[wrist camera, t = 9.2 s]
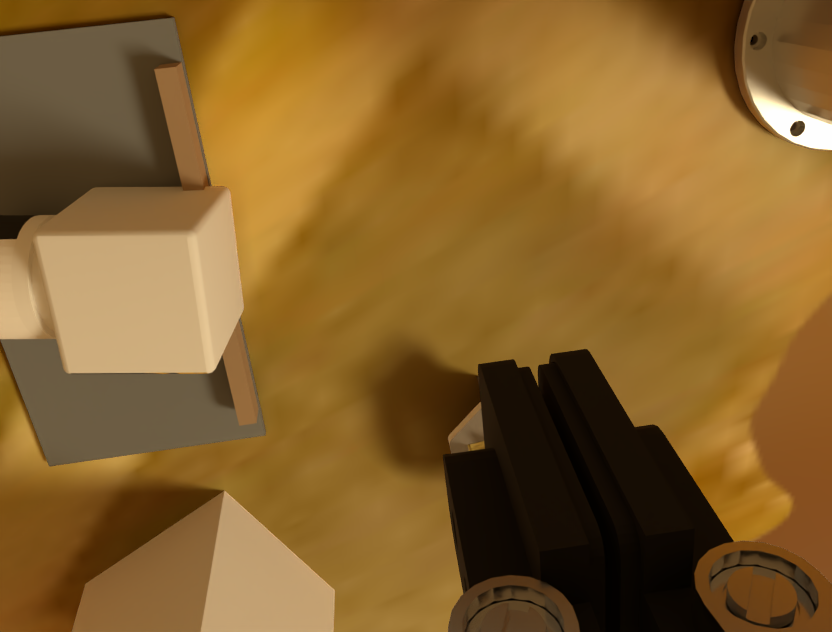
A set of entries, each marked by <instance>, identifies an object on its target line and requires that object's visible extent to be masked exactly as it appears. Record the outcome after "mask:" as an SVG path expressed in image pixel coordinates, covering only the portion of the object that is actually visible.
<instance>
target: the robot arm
mask: <svg viewBox="0 0 832 632" xmlns="http://www.w3.org/2000/svg"><path fill="white" fill-rule="evenodd" d="M752 36H753V38H754V39H753V42H752V43H751V44H750V41H751V38H752ZM734 54H735V72H736V76H737V80H738V84H739V89H740V92H741V94H742V96H743V98H744V100H745V103H746V105H747V107H748V109H749V110H750V112H751V113H752V114H753V115H754V117H755V118H756V119H757V120H758V122H759V123H760V124H761V125H762V126H763V127H764V128H766V129H767V130H768V131H770V132H771V133H772V134H774V135H775V136H776V137H779V138H781V139H783V140H785V141H787V142H789V143H792V144H795V145H798V146H801V147H804V148H808V149H812V150H825V151H832V0H744V3H743V6H742V9H741V13H740V16H739V19H738V23H737V30H736V38H735V45H734ZM791 125H792V126H791ZM478 377H479V388H480V400H481V411H482V422H483V434H484V445H485V449H480V450H473V451H466V452H459V453H452V454H445V455H443V461H444V470H445V479H446V487H447V495H448V503H449V511H450V518H451V524H452V531H453V537H454V543H455V549H456V555H457V560H458V566H459V571H460V577H461V582H462V588H463V595H462V596H461V597H460V598H459V600H458V602H457V603H456V605H455V606H454V608H453V609H452V612H451V617H450V621H449V626H448V632H832V584H831V583H830V582H829V581H828V580H827V579H826V578H825V576H823V574H821V572H820V571H818V570H817V569H816V568H815V567H814V566H812V565H811V564H810V563H809V562H807V561H806V560H805V559H803V558H802V557H800V556H798V555H796V554H794V553H792V552H790V551H788V550H786V549H784V548H781V547H778V546H774V545H770V544H767V543H763V542H752V541H738V542H734V541H733V540H732V538H731V536H730V535H729V533H728V532H727V530H726V529H725V527H724V526H723V524H722V523H721V521H720V520H719V518H718V516H717V515H716V513H715V512H714V510H713V509H712V507H711V506H710V504H709V503H708V501H707V500H706V498H705V496H704V495H703V493H702V492H701V490H700V489H699V487H698V486H697V484H696V483H695V481H694V480H693V478H692V476H691V475H690V473H689V472H688V470H687V469H686V467H685V466H684V464H683V463H682V461H681V460H680V458H679V456H678V455H677V453H676V452H675V450H674V449H673V447H672V446H671V444H670V443H669V441H668V440H667V438H666V436H665V435H664V433H663V432H662V431H661V430H660V428H659V427H658V426H655V425H647V426H640V427H634V425H633V424H632V422H631V420H630V419H629V417H628V415H627V414H626V412H625V410H624V409H623V407H622V405H621V404H620V402H619V400H618V399H617V397H616V395H615V394H614V392H613V390H612V389H611V387H610V385H609V384H608V382H607V380H606V379H605V377H604V375H603V374H602V372H601V370H600V369H599V367H598V365H597V364H596V362H595V360H594V359H593V357H592V355H591V354H590V352H589V351H588V350H587V349H583V350H576V351H569V352H562V353H555V354H551V355H550V359H549V364H543V365H539V366H538V385H537V383H536V381H535V379H534V376H533V374H532V372H531V369H530V368H529V367H522V368H518V367H517V365H516V362H515V360H513V359H512V360H505V361H498V362H491V363H484V364H479V365H478ZM538 387H539V388H538Z"/></svg>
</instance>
